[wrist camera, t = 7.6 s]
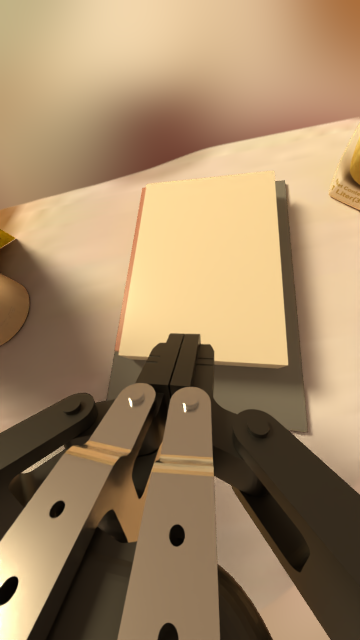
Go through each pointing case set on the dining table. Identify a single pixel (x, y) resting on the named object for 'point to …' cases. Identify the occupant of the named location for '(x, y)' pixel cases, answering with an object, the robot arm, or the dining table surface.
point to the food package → (5, 238)
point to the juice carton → (348, 174)
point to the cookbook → (207, 270)
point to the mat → (251, 382)
